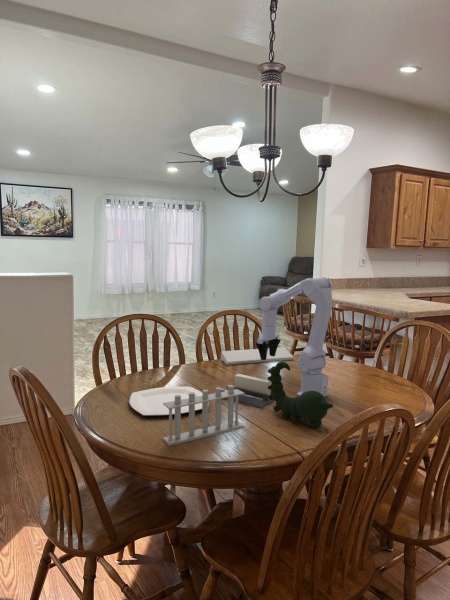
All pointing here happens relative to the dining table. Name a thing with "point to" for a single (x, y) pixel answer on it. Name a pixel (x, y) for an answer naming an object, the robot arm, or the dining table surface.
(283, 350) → the decorative molding
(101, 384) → the dining table surface
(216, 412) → the test tube rack
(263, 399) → the grey grooved block
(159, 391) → the plate
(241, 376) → the clay strip
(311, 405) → the toy figurine
